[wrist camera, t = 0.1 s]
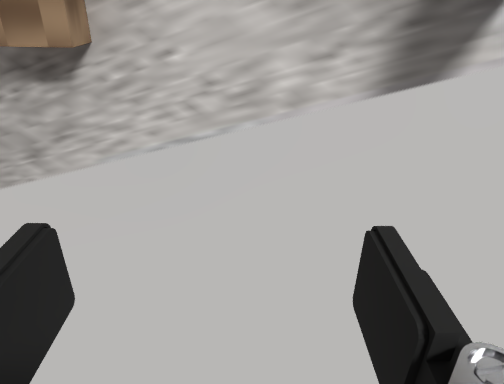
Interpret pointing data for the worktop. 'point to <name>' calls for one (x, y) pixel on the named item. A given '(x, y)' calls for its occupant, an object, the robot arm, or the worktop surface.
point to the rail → (43, 23)
